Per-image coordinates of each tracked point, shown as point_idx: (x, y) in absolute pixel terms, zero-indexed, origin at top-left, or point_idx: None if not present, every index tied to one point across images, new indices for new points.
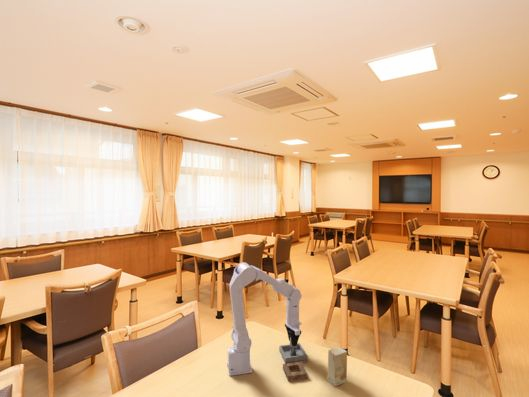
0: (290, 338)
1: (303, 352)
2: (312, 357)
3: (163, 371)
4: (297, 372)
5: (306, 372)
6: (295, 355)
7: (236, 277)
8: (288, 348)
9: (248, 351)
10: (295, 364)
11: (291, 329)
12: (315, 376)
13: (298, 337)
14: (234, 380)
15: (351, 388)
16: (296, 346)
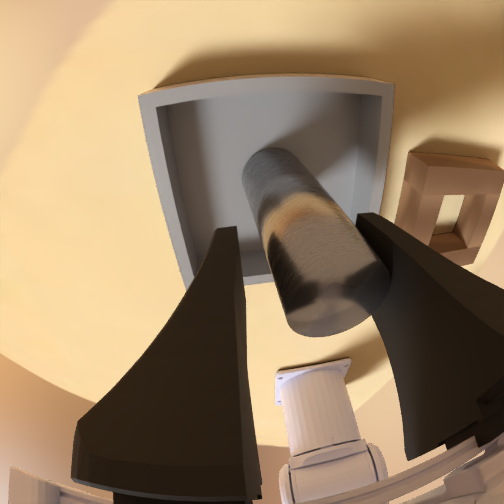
0: (343, 331)
1: (320, 90)
2: (328, 13)
3: (269, 443)
4: (481, 218)
5: (501, 173)
6: (301, 162)
7: None
8: (183, 206)
9: (353, 434)
10: (434, 211)
11: (249, 411)
12: (492, 111)
13: (476, 285)
14: (358, 379)
15: None
16: (314, 185)
